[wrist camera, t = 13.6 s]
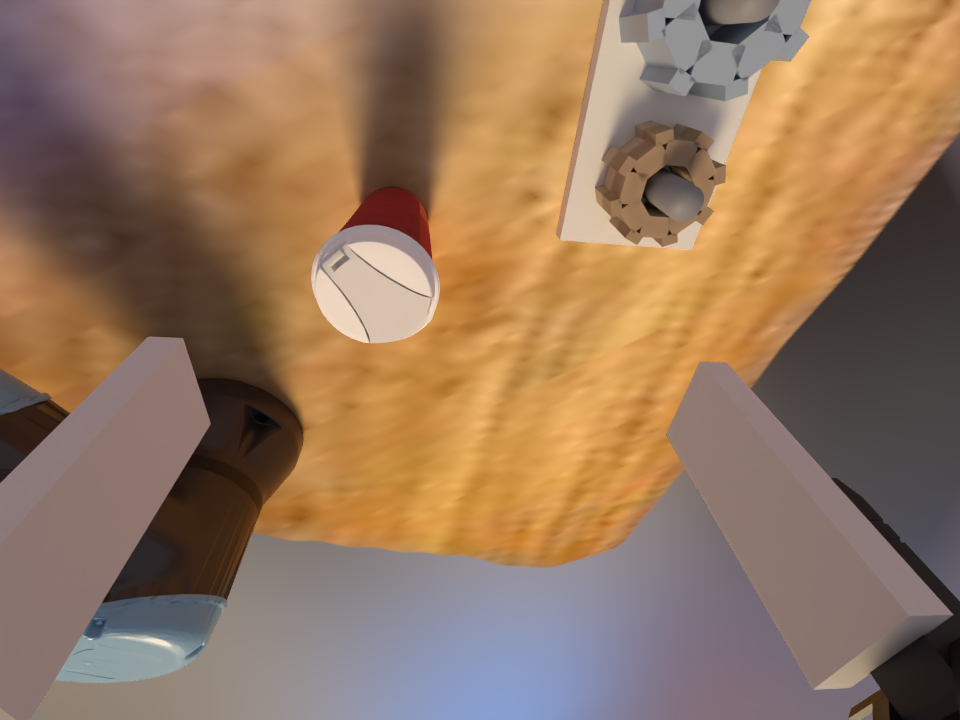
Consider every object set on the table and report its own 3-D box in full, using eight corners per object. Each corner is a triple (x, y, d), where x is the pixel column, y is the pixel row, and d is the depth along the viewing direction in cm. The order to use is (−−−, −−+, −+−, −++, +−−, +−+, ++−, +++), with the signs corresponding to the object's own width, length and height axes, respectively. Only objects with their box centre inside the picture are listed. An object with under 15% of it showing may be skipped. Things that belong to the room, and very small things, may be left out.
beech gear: (585, 225, 38) (599, 242, 34) (611, 116, 33) (630, 123, 30) (676, 232, 38) (698, 249, 35) (714, 127, 34) (743, 136, 31)
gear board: (556, 233, 39) (580, 274, 32) (628, -124, 27) (693, -183, 20) (684, 243, 41) (734, 284, 34) (809, -92, 28) (928, -137, 21)
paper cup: (327, 213, 37) (277, 288, 26) (396, 151, 35) (374, 203, 23) (393, 280, 41) (375, 372, 29) (459, 229, 39) (467, 306, 27)
